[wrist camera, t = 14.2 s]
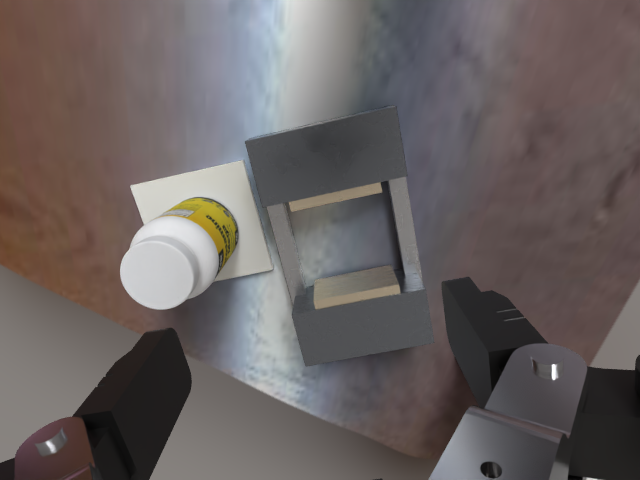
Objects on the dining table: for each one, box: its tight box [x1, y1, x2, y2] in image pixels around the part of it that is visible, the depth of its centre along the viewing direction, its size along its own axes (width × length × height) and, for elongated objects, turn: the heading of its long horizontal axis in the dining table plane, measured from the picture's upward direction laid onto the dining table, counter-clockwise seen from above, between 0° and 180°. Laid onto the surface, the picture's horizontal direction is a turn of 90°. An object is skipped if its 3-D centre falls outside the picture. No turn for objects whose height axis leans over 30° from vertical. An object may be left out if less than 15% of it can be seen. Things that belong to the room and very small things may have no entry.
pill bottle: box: [120, 196, 239, 310], centre depth 31 cm, size 6×6×11 cm
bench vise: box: [245, 105, 434, 366], centre depth 35 cm, size 19×12×5 cm, turn 13°
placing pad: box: [130, 160, 274, 282], centre depth 37 cm, size 10×10×1 cm
